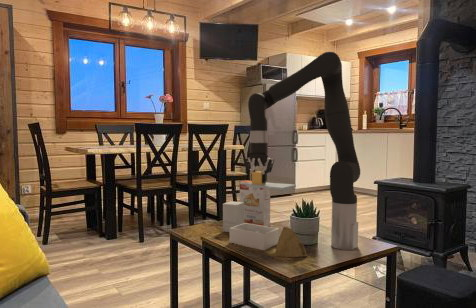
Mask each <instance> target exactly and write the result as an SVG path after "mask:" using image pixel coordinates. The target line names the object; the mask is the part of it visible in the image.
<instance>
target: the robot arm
mask: <svg viewBox="0 0 476 308" xmlns="http://www.w3.org/2000/svg"><path fill="white" fill-rule="evenodd" d="M319 78H321V81H322V86H323V89H324V90H323V91H324V118H325V124H326V129H327V132H328V134H329V136H330V139H331V140H332V142H333V145H334V147H335V150H336V153H337V154H336V156H337V161H336V162H334V163H333V164H332V165H331V168H330V170H329V171H330V172H329V193H330V195H331V235H330V237H331V238H330V239H331V240H330V241H331V242H330V244H331V245H330V246H331V247H332V248H335V249H338V250H343V251H345V250H348V251H354V250H355V249H356V248H358V246H359V222H358V221H357V220H358V219H357V218H358V217H357V215H358V214H357V212H358V210H357V209H358V196H357V194H356V193H355V191H354V183H356V182H357V181H358V180H359V179H360V176H361V167H360V163H359V159H358V155H357V153H356V149H355V142H354V136H353V129H352V128H353V127H352V120H351V115H350V108H349V104H348V101H347V100H348V99H347V97H346V94H345V90H344V83H343V65H342V61H341V57H339V55H338V54H337V53H336V52H334V51H324V52H323V53H321V54H319V55H318V56H317V57H316V58H314V59H313V60H312V61H310V62H309V63H307V64H306V65H305V66H304V67H302V68H301V69H299V70H297V71H296V72H294V73H293V74H290V75H289V76H288V77H285V78H283V79H282V80H280V81H278V82H276V83H274V84H273V85H272V84H271V85H270V86H269V88H268V89H267V90H265V91H264V92H262V93H258V92H255V93H252V94H251V95H250V96H249V98H248V102H247V106H248V112H249V113H248V114H249V115H248V116H249V119H250V124H249V125H250V130H249V131H250V132H249V157H245V158H243V164H244V166H245V170H246V172H247V173H250V181H252V172H255V171H257V169H258V167H259V169H260V170H261V171H260V172H262V183H266V182H267V180H268V174H270V173H272V169H273V166H274V162H275V159H274V158H270V157H269V155H268V150H269V149H268V147H269V143H268V142H269V140H268V139H269V138H268V137H269V135H268V121H267V117H266V114H265V113H266V110H268V109H270V108H271V107H272V106H274V105H275V104H277V103H278V102H280V101H282V100H284V99H286V98H288V97H290V96H292V95H294V94H295V93H296V92H298V91H299V90H301V89H302V88H303V87H304V86H306V85H307V84H309V83H310V82H312V81H315V79H319ZM267 183H268V182H267Z"/></svg>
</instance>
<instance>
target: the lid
mask: <svg viewBox="0 0 476 308" xmlns="http://www.w3.org/2000/svg"><path fill="white" fill-rule="evenodd" d="M246 185H247V187H253V189H259V188H267V189H270V190H281V191H280V192H281V193H284V192H289V191H291V189H292V188H295V187H297V184H293V183H278V182H276V183H275V182H266V183H262V171H260V170H259V171H257V170H256V171H255V172H252V183H246Z"/></svg>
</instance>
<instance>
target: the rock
mask: <svg viewBox="0 0 476 308" xmlns="http://www.w3.org/2000/svg"><path fill="white" fill-rule="evenodd" d="M275 247H276V248H275V251H274V255H273V256H274V257H275V258H276V257H282V258H300V257H301V258H303V257H307V256H308V255H307V250H306V248H305V244H304V243H303V242H302V241H301V240H300V238H299V236H298V235H297V233H296V232H294V231H293V230H292V228H291V227H288V226H283V227H282V230H281V233H280V234H279V241H278V243H277V245H275Z"/></svg>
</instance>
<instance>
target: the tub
mask: <svg viewBox="0 0 476 308" xmlns="http://www.w3.org/2000/svg"><path fill="white" fill-rule="evenodd" d="M279 238H280V229H279V227H274V226H273V227H272V226H269V227H267V226H261V225H255V224H249V223H243V224H240V225H237V226H234V227H231V228H230V232H229V238H228V239H229V242H228V243H229V244H232V243H234V244H233V245H236V244H238V245H237V246H241V245H242V247H247V248H251V249H256V250H260V251H266V250H268V249H270V248H272V247H274V246H275V247H276V246H277V243H278V241H279Z"/></svg>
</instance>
